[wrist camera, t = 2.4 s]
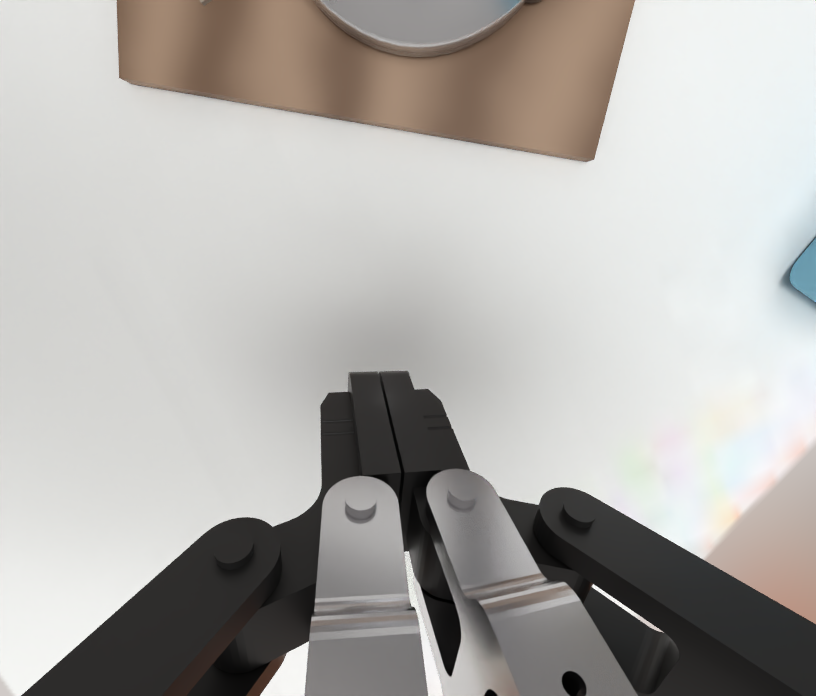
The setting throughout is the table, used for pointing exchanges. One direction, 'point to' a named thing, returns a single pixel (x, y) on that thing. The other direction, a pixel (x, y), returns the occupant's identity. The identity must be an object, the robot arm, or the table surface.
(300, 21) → the base plate
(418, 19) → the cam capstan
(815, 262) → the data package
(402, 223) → the table surface
